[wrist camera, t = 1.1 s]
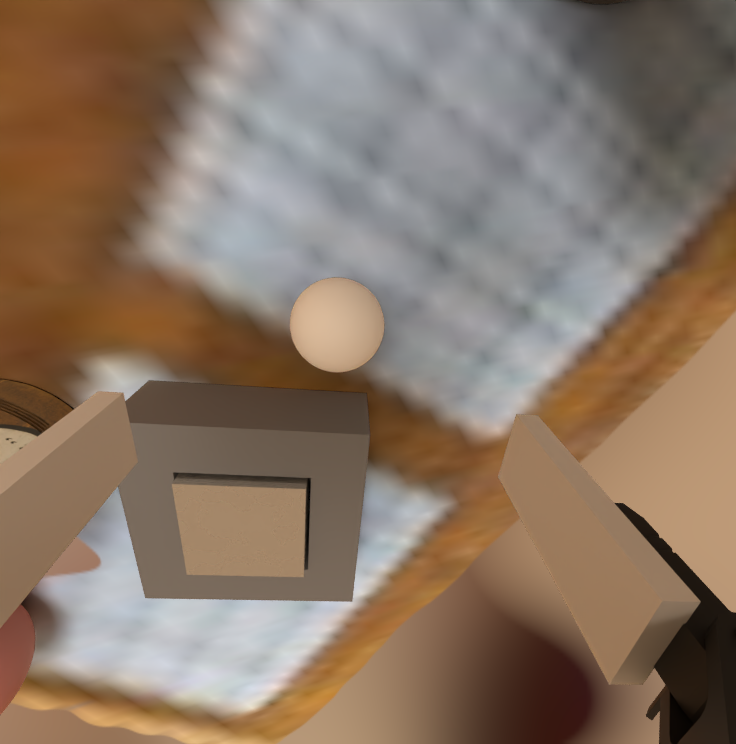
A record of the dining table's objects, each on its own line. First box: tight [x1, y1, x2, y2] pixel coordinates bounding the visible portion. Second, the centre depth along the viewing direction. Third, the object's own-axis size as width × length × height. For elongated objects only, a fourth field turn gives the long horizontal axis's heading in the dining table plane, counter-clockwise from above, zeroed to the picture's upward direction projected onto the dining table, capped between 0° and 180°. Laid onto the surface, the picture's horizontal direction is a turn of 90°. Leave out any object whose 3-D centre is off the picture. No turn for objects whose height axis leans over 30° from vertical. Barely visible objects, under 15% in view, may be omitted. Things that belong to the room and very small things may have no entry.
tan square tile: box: [172, 473, 309, 577], centre depth 33 cm, size 10×10×3 cm
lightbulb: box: [290, 277, 384, 372], centre depth 26 cm, size 6×6×11 cm
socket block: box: [118, 380, 370, 601], centre depth 35 cm, size 20×20×7 cm
